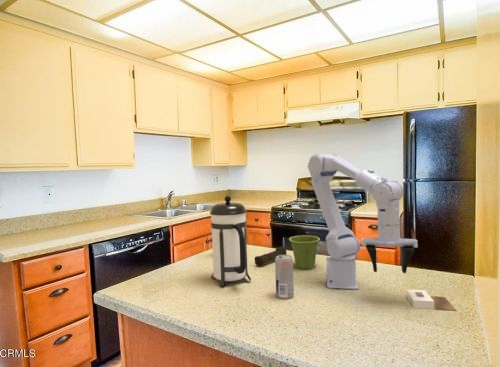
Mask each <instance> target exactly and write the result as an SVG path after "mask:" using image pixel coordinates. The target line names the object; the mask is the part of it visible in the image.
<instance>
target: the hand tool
mask: <svg viewBox="0 0 500 367" xmlns="http://www.w3.org/2000/svg"><path fill="white" fill-rule="evenodd" d="M278 255H288V254H287V249H286V246H280V247H277V248H275V250H274V251H271V252H268V253H264V254H262V255H258V256H257V255H256V256H254V264H255V265H256V266H257V267H261V266H263V265H265V264H266V263H268V262H272V261H275V259H276V256H278Z"/></svg>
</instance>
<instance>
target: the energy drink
mask: <svg viewBox="0 0 500 367" xmlns="http://www.w3.org/2000/svg"><path fill="white" fill-rule="evenodd" d="M274 263H275V265H274V268H275V294H276V295H275V296H277V297H276V298H278V299H281V300H288V299H292V298H293V297H294V295H295V294H294V292H295V290H294V289H295V288H294V286H295V285H294V259H293V256H291V255H288V254H287V255H278V256H276V259H274Z"/></svg>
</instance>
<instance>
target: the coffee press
mask: <svg viewBox="0 0 500 367" xmlns="http://www.w3.org/2000/svg"><path fill="white" fill-rule="evenodd" d="M231 200H232V197H231V196H230V195H226V196H224V201H225V202H222V203H221V202H219V203H220V204H219V203H217V204H214V205H213V206H211V210H210V211H209V214H210V228H211V242H212V243H211V246H212V247H211V248H212V268H213V269H212V270H213V273H212V275H211V276H210V277H211V278H210V279H212V280H215V279H216V280H218V281H220V283H219V287H220V288H225V287H226V284H227V283H228V282H236V281H240V280H244V281H245V282H246V283H247V282H248V283H247V284H249V283H250V282H251V281H252V278H251V277H250V275H249V273H248V272H249V271H248V269H249V268H248V250H247V249H248V248H247V245H248V244H247V242H248V241H247V219H246V218H247V216H246V214H247V209H246V207H245V206H244V205H243V204H242V203H239V202H231ZM246 277H247V278H246ZM213 278H214V279H213Z"/></svg>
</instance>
